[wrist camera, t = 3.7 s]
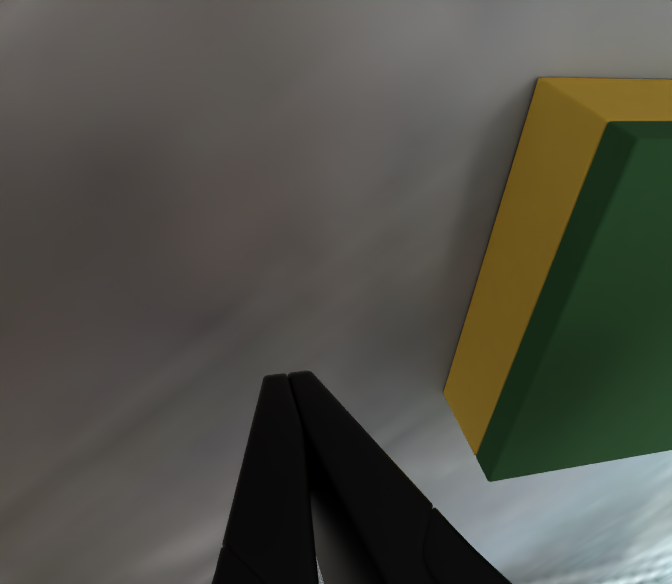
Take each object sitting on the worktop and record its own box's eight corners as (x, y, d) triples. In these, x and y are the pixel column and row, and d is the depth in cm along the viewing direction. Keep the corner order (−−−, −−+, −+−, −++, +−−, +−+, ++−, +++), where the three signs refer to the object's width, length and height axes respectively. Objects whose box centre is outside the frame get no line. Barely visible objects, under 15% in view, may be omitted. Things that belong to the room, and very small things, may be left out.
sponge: (617, 370, 18) (684, 448, 15) (442, 393, 16) (488, 483, 14) (780, 80, 12) (921, 135, 10) (537, 76, 11) (638, 139, 9)
